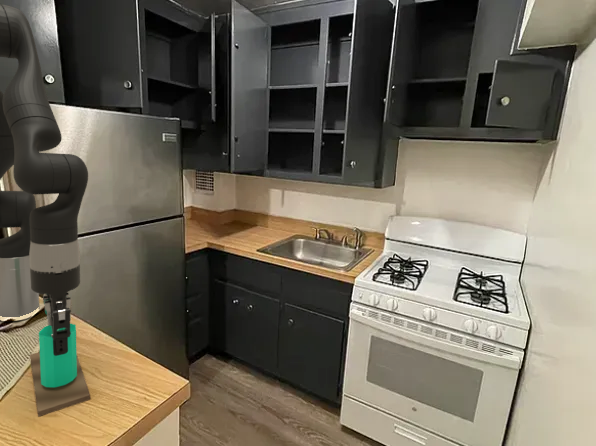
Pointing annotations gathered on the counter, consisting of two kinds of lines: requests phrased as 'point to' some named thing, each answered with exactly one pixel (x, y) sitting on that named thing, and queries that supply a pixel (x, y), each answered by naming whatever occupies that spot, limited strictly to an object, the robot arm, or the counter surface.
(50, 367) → the candle
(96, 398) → the counter surface
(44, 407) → the board
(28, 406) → the counter surface
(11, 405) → the counter surface
